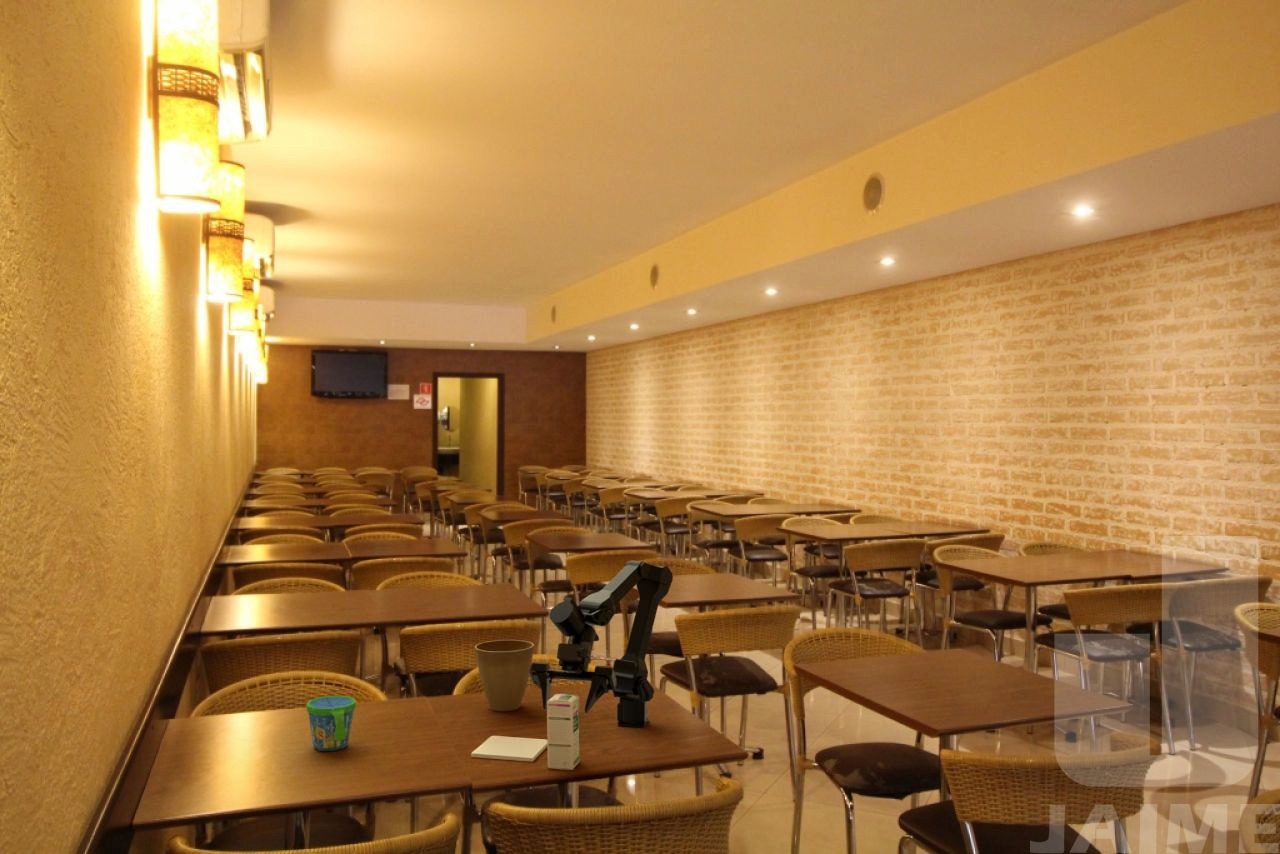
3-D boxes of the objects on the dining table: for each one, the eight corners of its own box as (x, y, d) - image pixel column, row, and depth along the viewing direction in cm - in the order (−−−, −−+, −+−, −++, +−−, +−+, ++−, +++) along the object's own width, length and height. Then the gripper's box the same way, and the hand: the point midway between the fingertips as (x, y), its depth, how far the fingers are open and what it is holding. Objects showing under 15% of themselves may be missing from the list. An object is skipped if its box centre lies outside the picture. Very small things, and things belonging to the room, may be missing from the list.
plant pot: (541, 701, 269) (541, 640, 269) (522, 717, 254) (522, 653, 254) (487, 698, 272) (487, 637, 272) (465, 713, 258) (465, 649, 258)
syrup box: (573, 770, 216) (573, 701, 216) (546, 768, 217) (546, 699, 217) (580, 761, 222) (580, 694, 222) (553, 759, 223) (554, 692, 223)
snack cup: (361, 754, 226) (361, 707, 226) (311, 760, 221) (311, 713, 221) (349, 734, 240) (349, 690, 240) (302, 740, 236) (302, 695, 236)
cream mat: (550, 743, 234) (550, 739, 234) (532, 761, 222) (532, 758, 221) (491, 739, 237) (491, 735, 237) (471, 756, 224) (471, 753, 224)
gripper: (531, 625, 228) (515, 687, 217) (614, 629, 224) (601, 693, 213) (542, 653, 236) (526, 714, 225) (621, 658, 232) (609, 720, 221)
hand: (565, 710), depth 221 cm, fingers open, 9 cm apart
